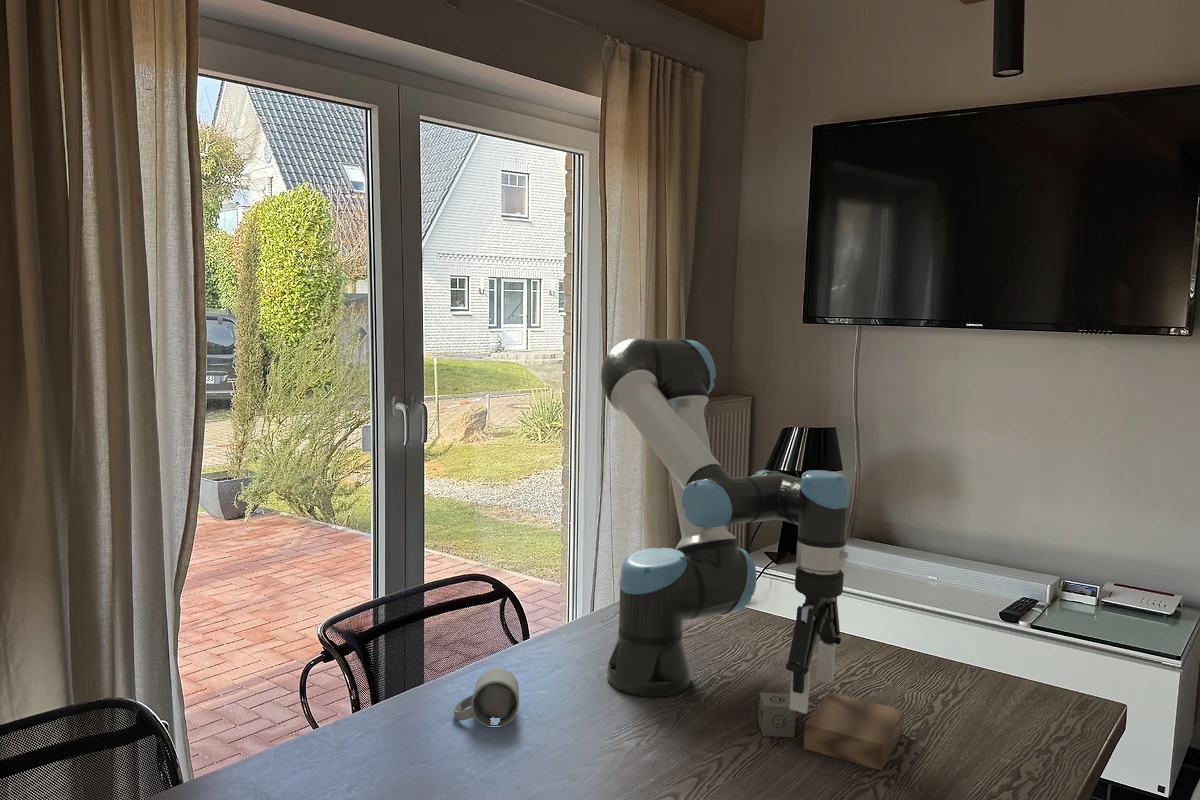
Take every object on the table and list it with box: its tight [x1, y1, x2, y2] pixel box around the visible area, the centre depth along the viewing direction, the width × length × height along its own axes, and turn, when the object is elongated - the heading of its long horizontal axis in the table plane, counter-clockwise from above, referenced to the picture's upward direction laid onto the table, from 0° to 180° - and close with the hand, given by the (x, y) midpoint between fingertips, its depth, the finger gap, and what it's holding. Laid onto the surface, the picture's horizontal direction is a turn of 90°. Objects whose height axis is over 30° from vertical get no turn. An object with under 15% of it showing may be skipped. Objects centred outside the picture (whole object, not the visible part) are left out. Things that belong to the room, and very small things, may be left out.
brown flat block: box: [803, 691, 905, 771], centre depth 144 cm, size 12×14×4 cm
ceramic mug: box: [452, 667, 520, 727], centre depth 148 cm, size 11×8×8 cm
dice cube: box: [758, 692, 797, 738], centre depth 147 cm, size 5×5×5 cm
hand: (811, 695), depth 147 cm, fingers open, 13 cm apart
